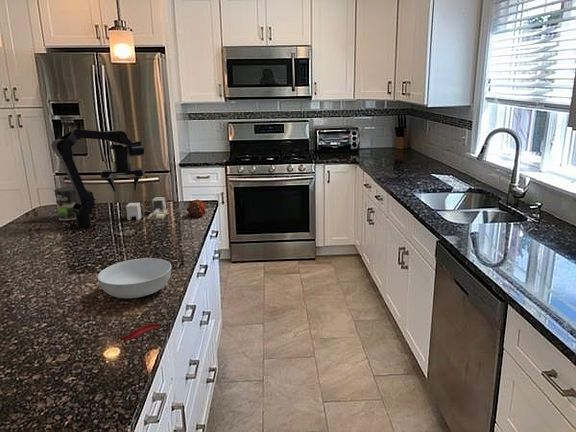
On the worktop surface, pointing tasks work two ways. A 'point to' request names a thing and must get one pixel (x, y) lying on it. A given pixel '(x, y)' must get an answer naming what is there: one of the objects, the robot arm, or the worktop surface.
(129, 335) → the cayenne pepper
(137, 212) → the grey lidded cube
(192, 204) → the dragon fruit
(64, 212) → the grey green cylinder
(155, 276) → the serving bowl
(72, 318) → the worktop surface
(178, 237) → the worktop surface
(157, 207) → the rail
